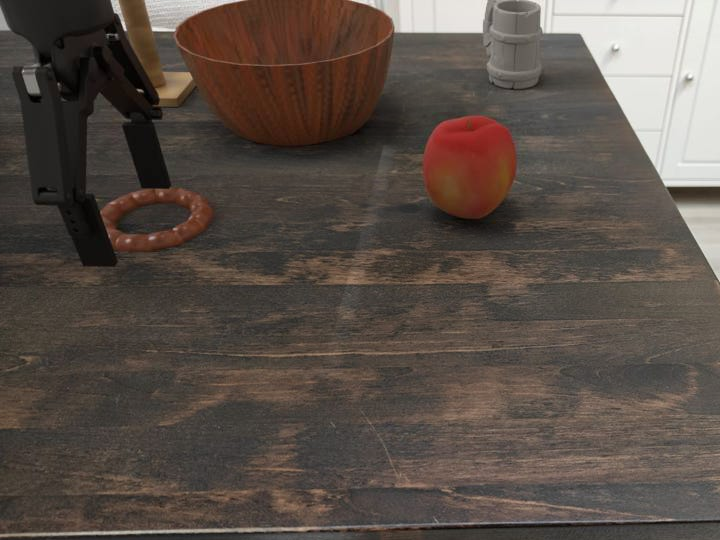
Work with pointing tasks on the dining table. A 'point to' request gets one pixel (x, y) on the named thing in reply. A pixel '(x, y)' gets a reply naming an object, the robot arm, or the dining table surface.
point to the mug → (513, 42)
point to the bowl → (289, 66)
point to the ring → (163, 239)
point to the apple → (469, 166)
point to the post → (153, 56)
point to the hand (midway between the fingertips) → (130, 223)
